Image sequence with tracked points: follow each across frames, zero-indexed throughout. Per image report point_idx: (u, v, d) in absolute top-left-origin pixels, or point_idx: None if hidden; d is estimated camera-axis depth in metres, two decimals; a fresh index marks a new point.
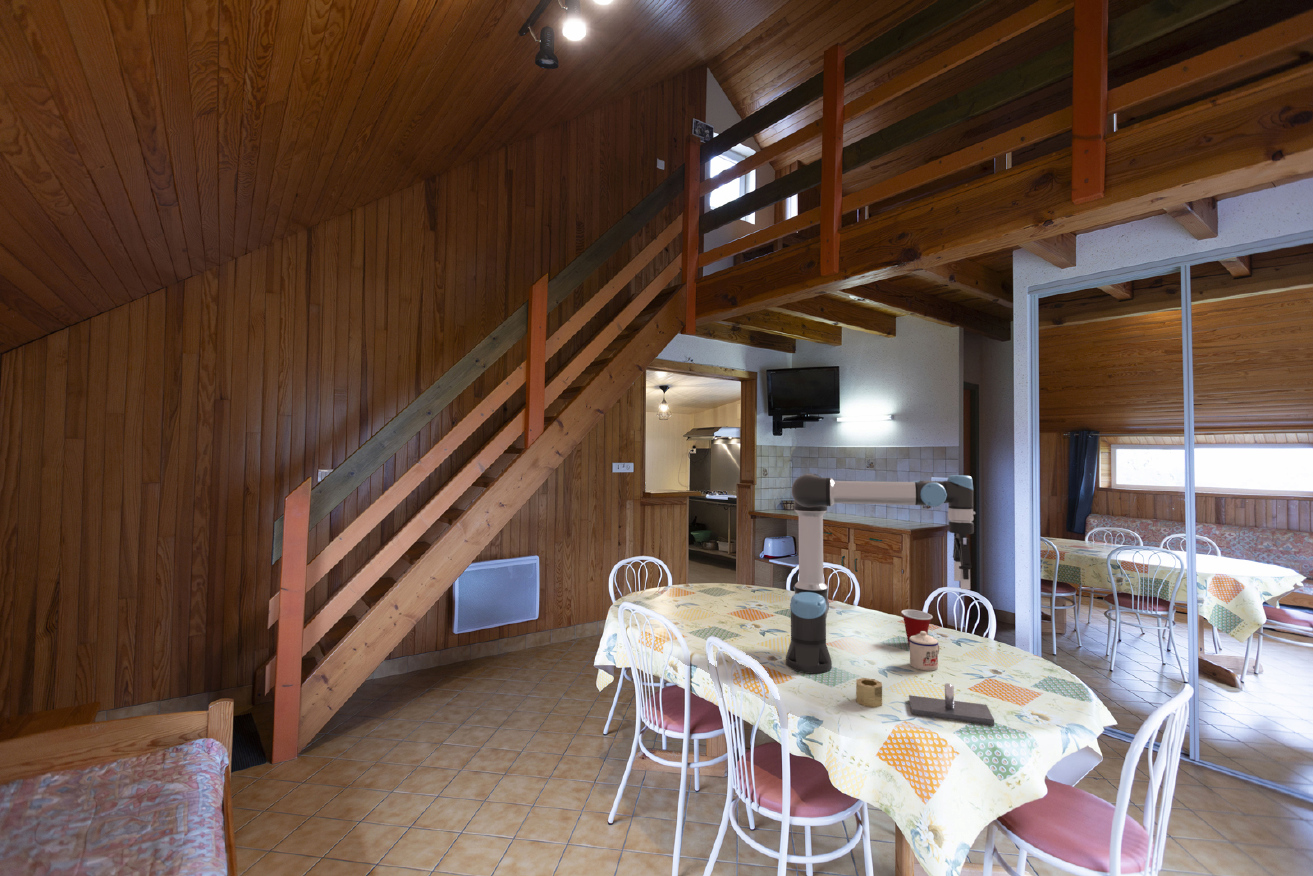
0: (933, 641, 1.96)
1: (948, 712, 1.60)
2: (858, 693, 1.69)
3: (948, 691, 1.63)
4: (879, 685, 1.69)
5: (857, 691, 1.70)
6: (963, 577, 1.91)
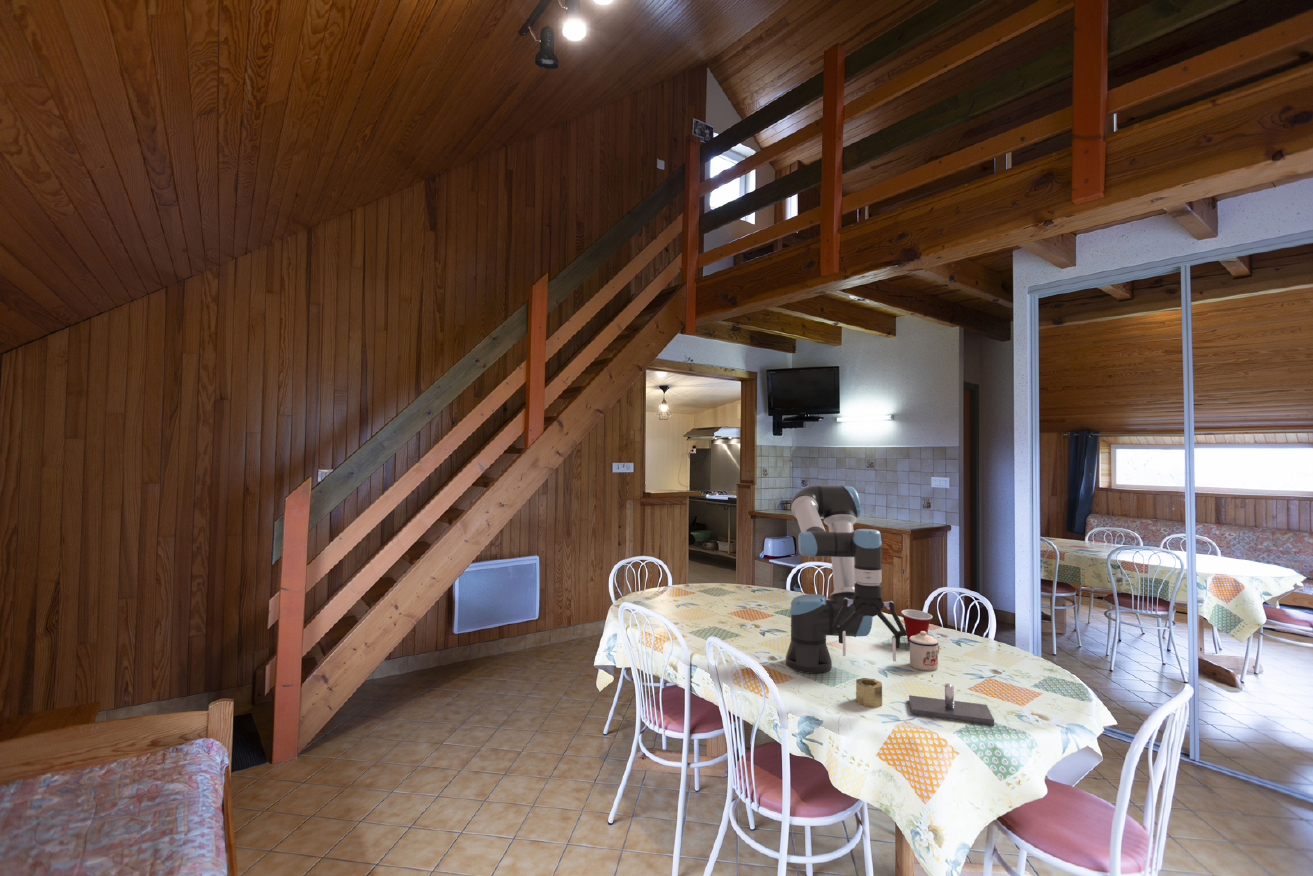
0: (933, 641, 1.96)
1: (948, 712, 1.60)
2: (858, 693, 1.69)
3: (948, 691, 1.63)
4: (879, 685, 1.69)
5: (857, 691, 1.70)
6: None
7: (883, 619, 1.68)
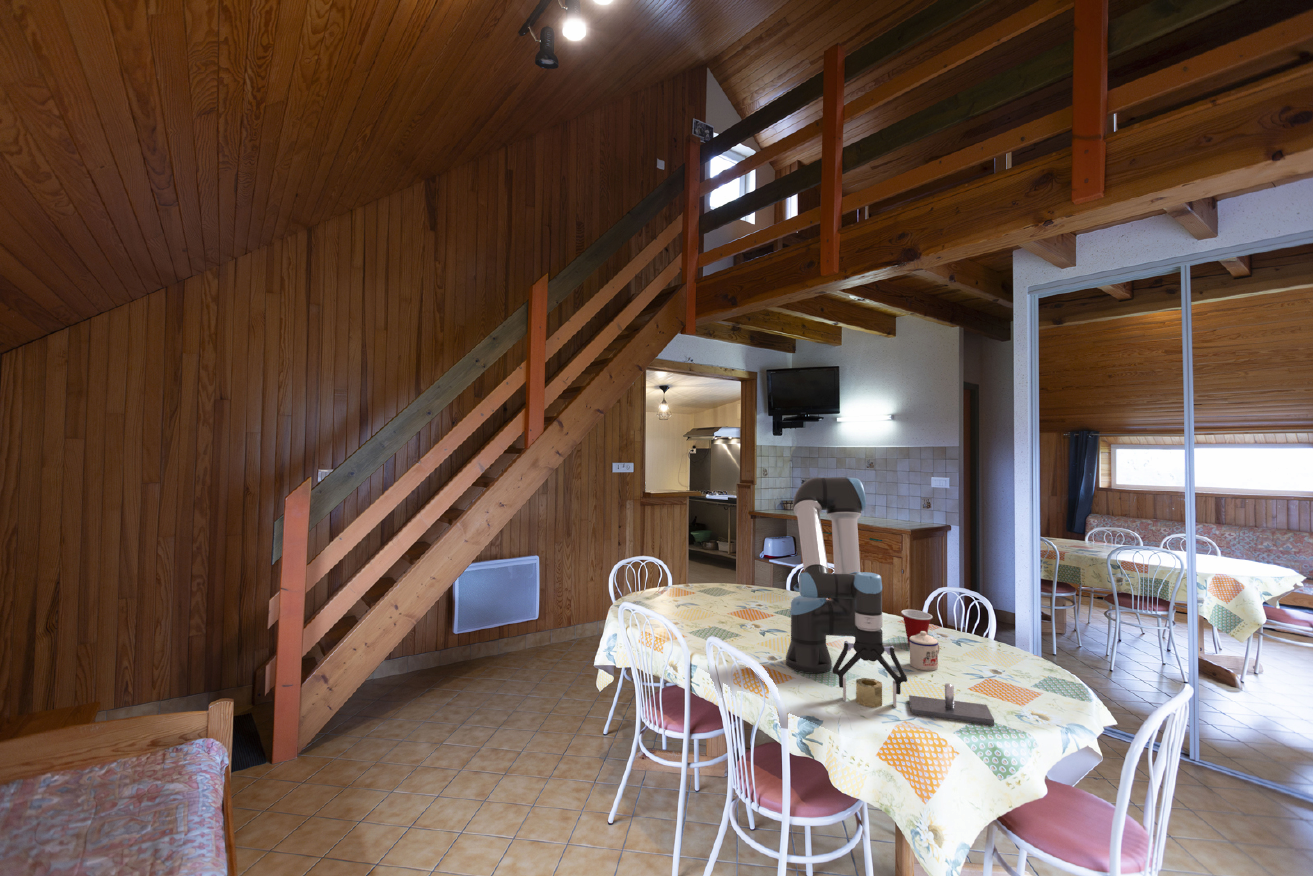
0: (933, 641, 1.96)
1: (948, 712, 1.60)
2: (858, 693, 1.69)
3: (948, 691, 1.63)
4: (879, 685, 1.69)
5: (857, 691, 1.70)
6: None
7: (884, 664, 1.68)
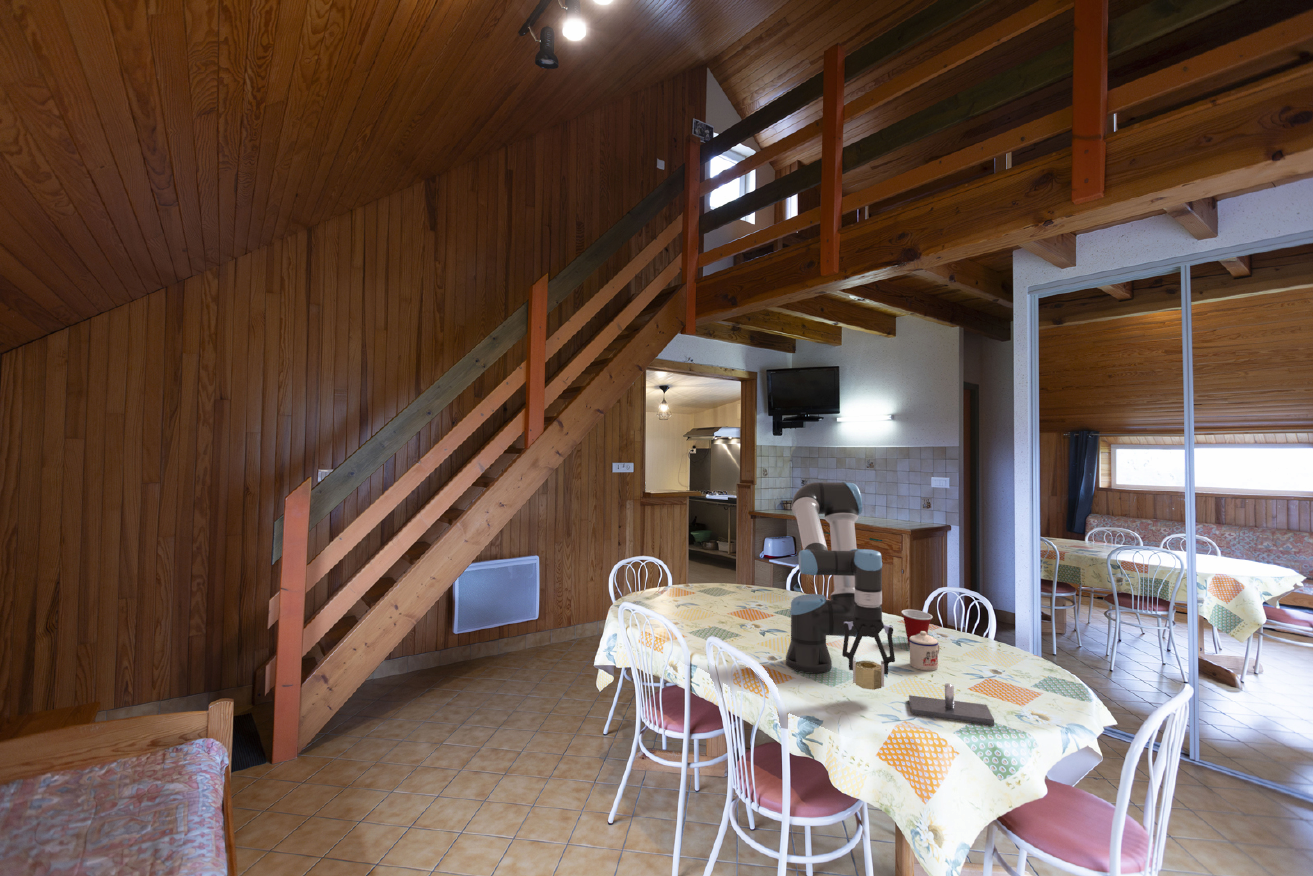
0: (933, 641, 1.96)
1: (948, 712, 1.60)
2: (857, 675, 1.70)
3: (948, 691, 1.63)
4: (878, 667, 1.69)
5: (856, 673, 1.70)
6: None
7: (878, 642, 1.69)
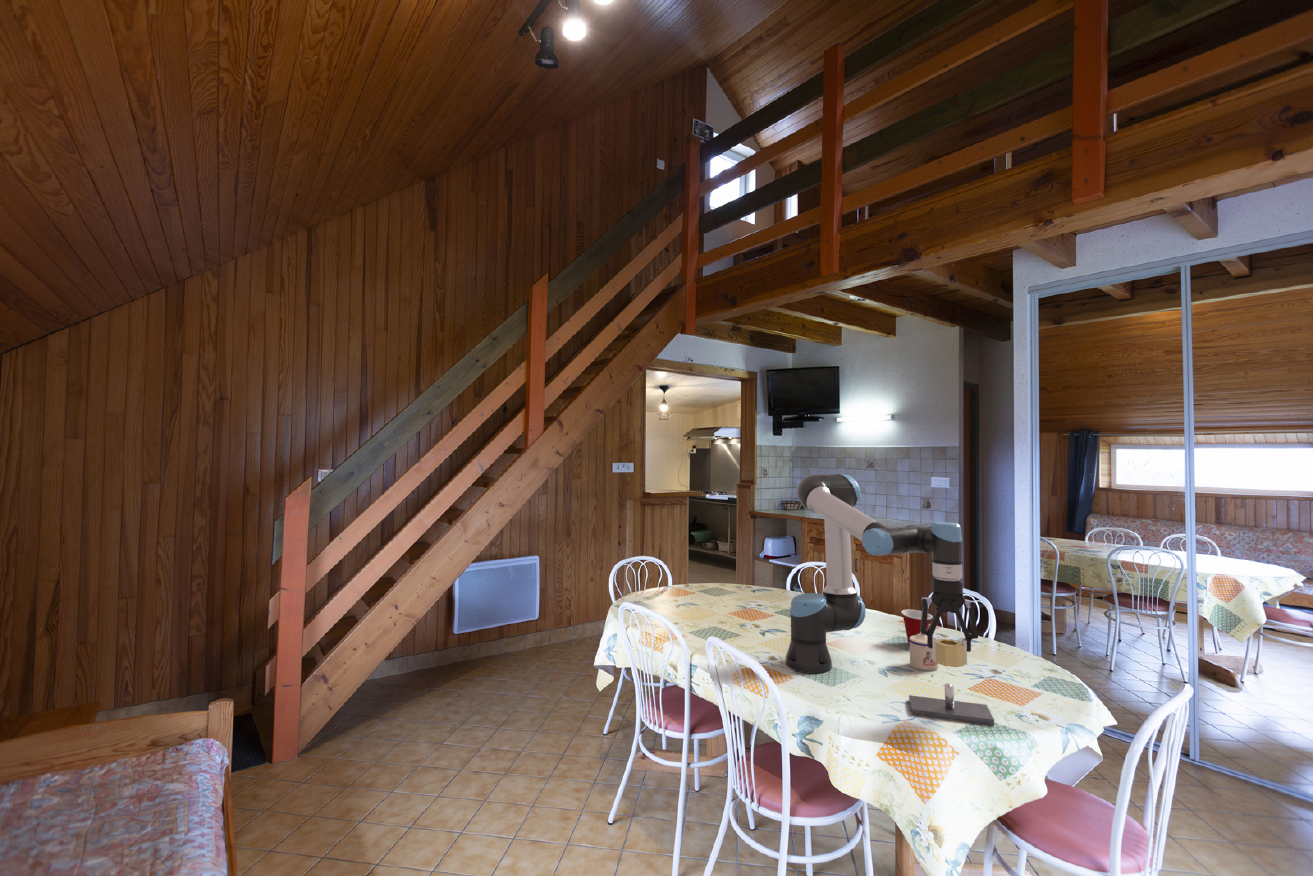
0: None
1: (948, 712, 1.60)
2: (938, 653, 1.63)
3: (948, 691, 1.63)
4: (960, 644, 1.62)
5: (937, 651, 1.63)
6: None
7: (959, 618, 1.62)
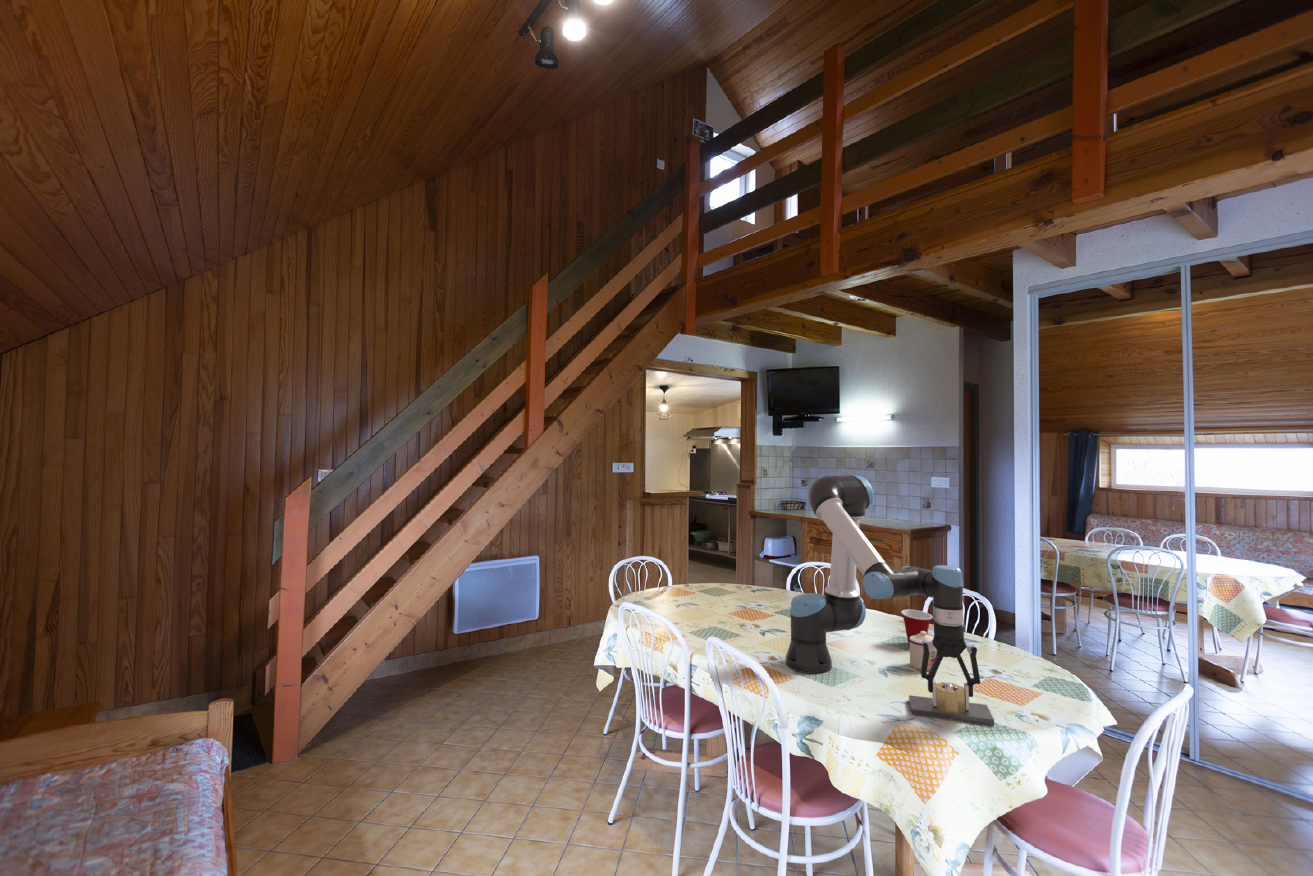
0: None
1: (948, 712, 1.60)
2: (939, 698, 1.62)
3: None
4: (961, 689, 1.62)
5: (938, 696, 1.62)
6: None
7: (961, 663, 1.62)
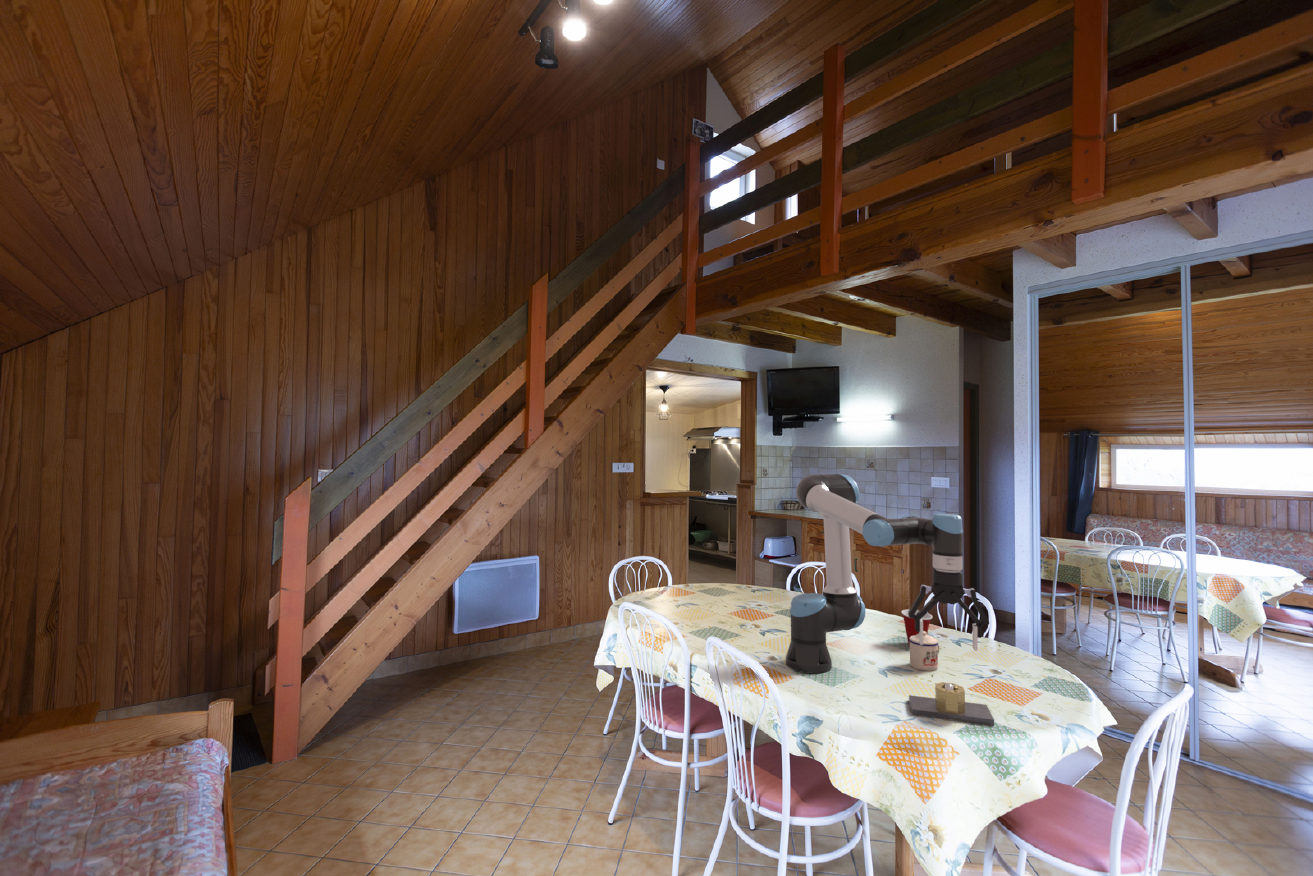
0: (933, 641, 1.96)
1: (948, 712, 1.60)
2: (939, 698, 1.62)
3: None
4: (961, 689, 1.62)
5: (938, 696, 1.62)
6: None
7: (964, 607, 1.62)
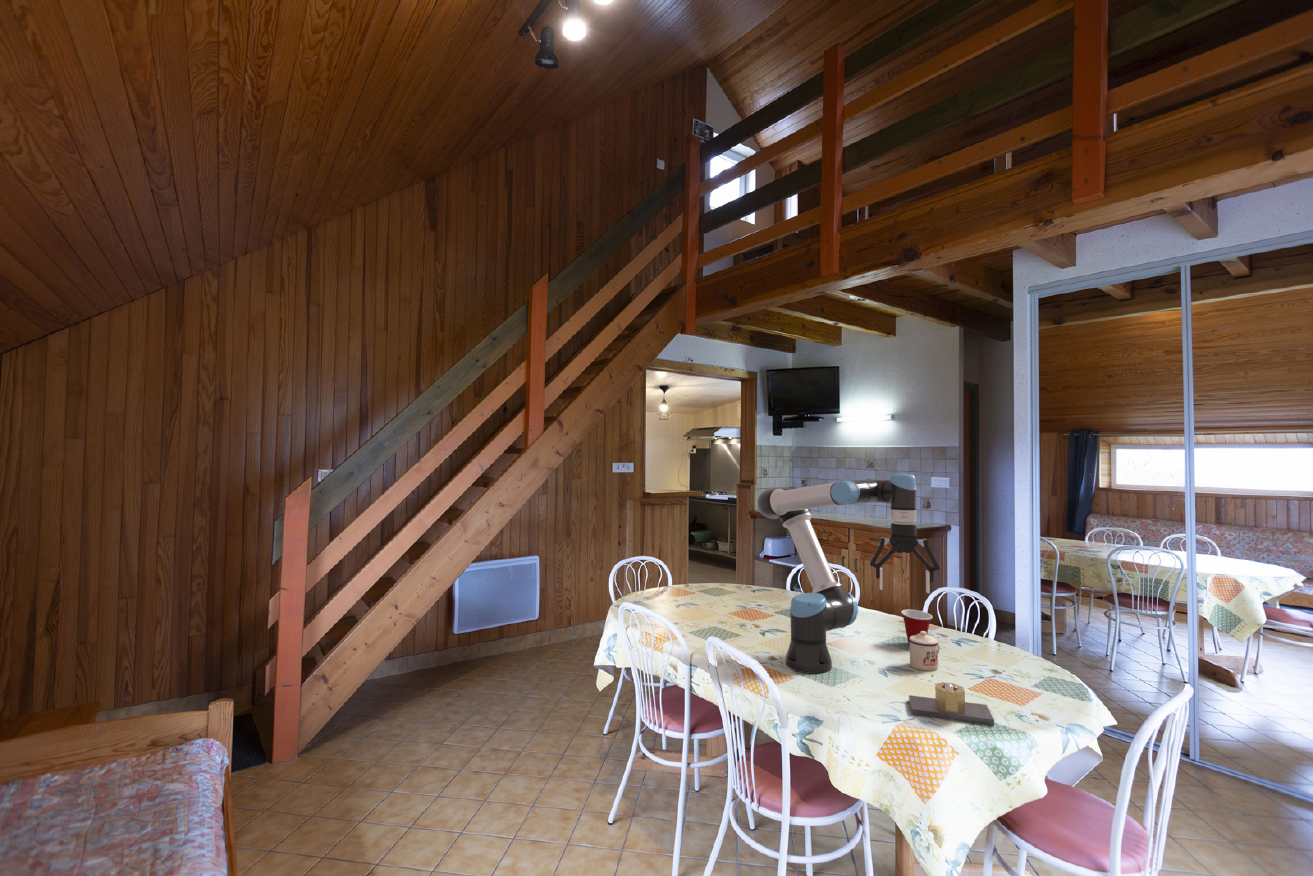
0: (933, 641, 1.96)
1: (948, 712, 1.60)
2: (939, 698, 1.62)
3: None
4: (961, 689, 1.62)
5: (938, 696, 1.62)
6: None
7: (918, 555, 1.83)
